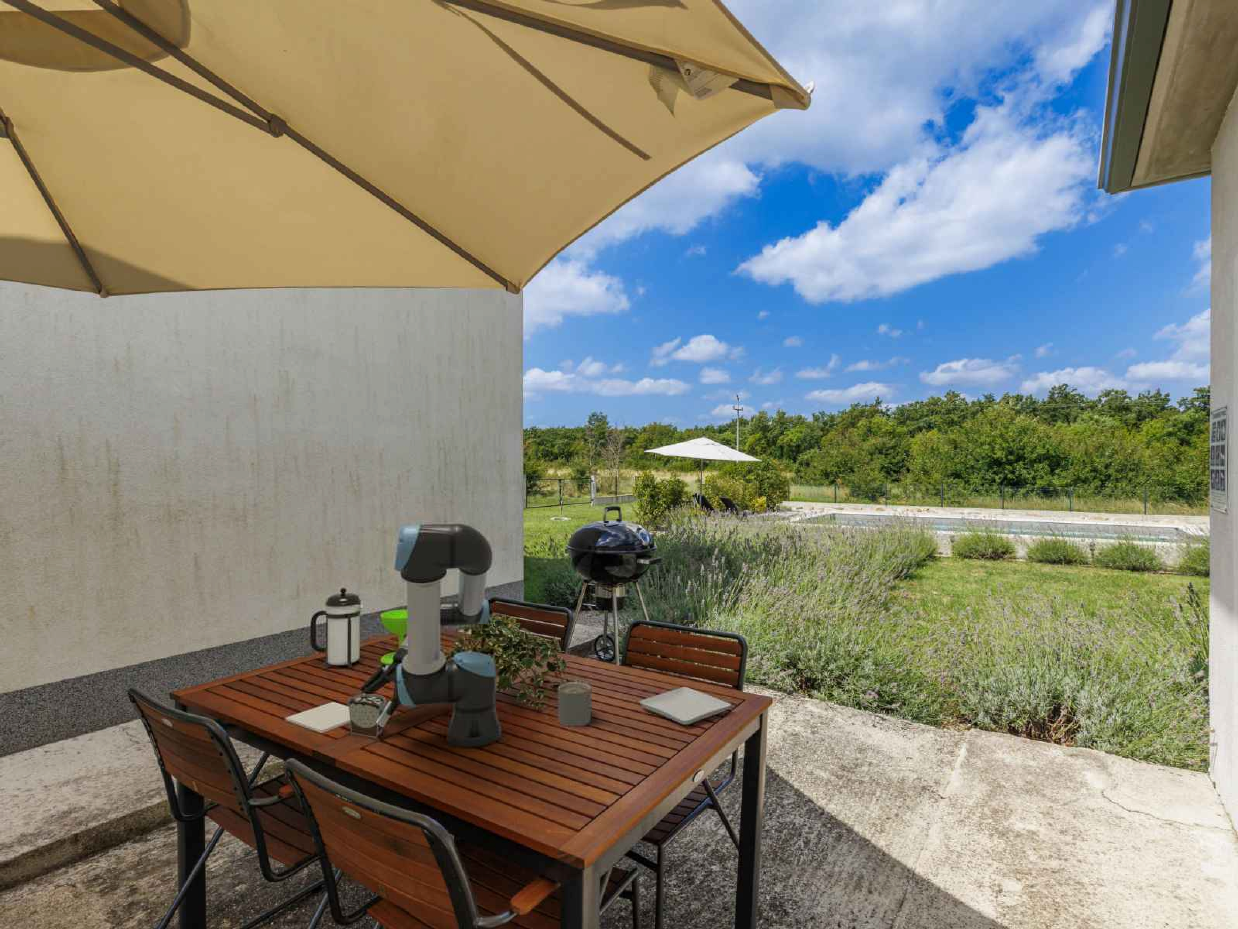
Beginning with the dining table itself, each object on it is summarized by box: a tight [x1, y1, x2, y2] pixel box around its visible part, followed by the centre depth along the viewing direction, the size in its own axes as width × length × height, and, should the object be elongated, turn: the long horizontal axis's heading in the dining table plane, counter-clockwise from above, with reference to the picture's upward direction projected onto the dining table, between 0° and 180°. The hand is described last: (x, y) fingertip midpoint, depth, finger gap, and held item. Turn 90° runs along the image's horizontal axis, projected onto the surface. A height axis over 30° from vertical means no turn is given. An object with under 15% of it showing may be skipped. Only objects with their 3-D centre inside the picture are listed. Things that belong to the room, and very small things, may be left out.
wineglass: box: [380, 609, 407, 665], centre depth 263 cm, size 16×16×18 cm
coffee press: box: [309, 587, 364, 670], centre depth 254 cm, size 17×16×30 cm
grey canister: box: [557, 681, 592, 728], centre depth 200 cm, size 13×10×10 cm
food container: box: [346, 693, 388, 739], centre depth 190 cm, size 12×6×10 cm, turn 69°
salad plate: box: [639, 686, 732, 726], centre depth 206 cm, size 21×21×3 cm
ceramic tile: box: [284, 701, 350, 734], centre depth 200 cm, size 18×16×1 cm
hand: (366, 720), depth 187 cm, fingers closed on food container, 11 cm apart
